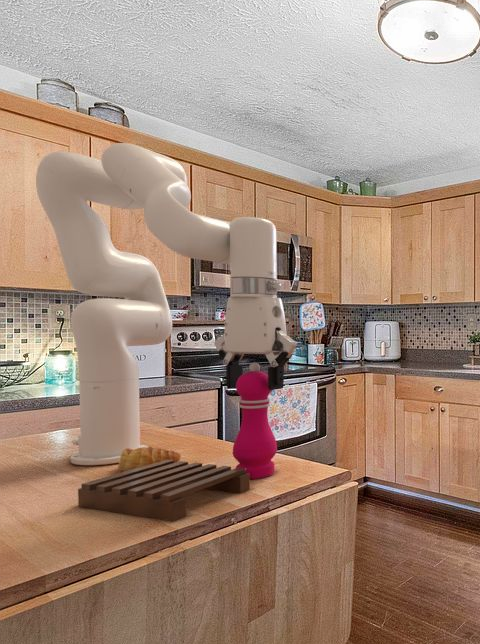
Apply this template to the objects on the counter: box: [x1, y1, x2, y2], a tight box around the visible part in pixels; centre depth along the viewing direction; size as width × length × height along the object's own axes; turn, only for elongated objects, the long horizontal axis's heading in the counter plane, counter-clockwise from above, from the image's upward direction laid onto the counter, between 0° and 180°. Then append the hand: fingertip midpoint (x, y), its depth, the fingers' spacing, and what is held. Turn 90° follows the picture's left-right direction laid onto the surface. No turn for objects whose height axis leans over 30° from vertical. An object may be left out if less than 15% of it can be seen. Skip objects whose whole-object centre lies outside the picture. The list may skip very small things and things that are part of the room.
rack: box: [77, 460, 251, 522], centre depth 76 cm, size 18×14×3 cm
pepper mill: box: [232, 362, 278, 480], centre depth 88 cm, size 7×7×20 cm
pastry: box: [117, 446, 182, 472], centre depth 92 cm, size 9×7×4 cm
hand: (255, 387), depth 88 cm, fingers open, 8 cm apart
